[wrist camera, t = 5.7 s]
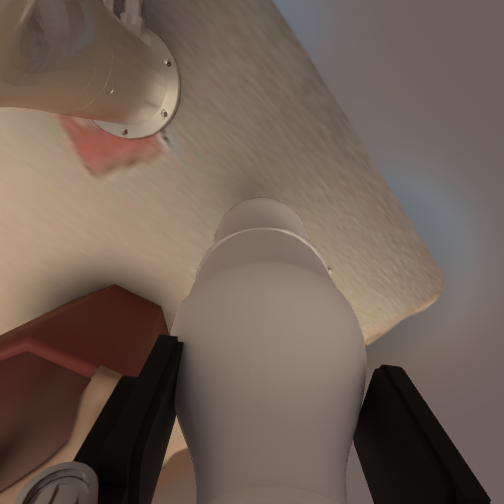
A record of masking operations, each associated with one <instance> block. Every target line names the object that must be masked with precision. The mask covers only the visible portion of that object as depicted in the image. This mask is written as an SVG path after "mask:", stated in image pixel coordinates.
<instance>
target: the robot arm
mask: <svg viewBox="0 0 504 504" xmlns="http://www.w3.org/2000/svg"><path fill="white" fill-rule="evenodd" d="M142 5H143V0H124V13H120V19H119V18H118V17H117V16H116V15H115V8H116V0H102V2H101V1H100V0H0V107H18V108H27V109H34V110H41V111H47V112H51V113H57V114H63V115H68V116H74V117H80V118H86V119H91V120H92V121H93V122H94V123H95V124H96V125H97V126H99V127H100V128H101V129H102V130H104V131H106V132H108V133H110V134H112V135H114V136H117V137H121V138H126V139H142V138H147V137H150V136H152V135H154V134H157V133H158V132H159V131H161V130H162V129H164V128H165V127H166V125H167V124H168V123H169V122H170V121H171V119H172V118H173V116H174V114H175V113H176V110H177V107H178V104H179V100H180V94H181V81H180V75H179V70H178V67H177V64H176V62H175V59H174V57H173V55H172V54H171V52H170V50H169V48H168V47H167V46H166V45H165V43H164V42H163V41H162V40H161V39H160V38H159V37H158V36H157V35H156V34H155V33H154V32H153V31H151V30H150V29H148V28H147V27H146V26H145V21H144V19H142V18H141V9H142ZM169 62H170V63H171V66H170V67H168V63H169ZM165 113H168V116H167V117H165V115H164V114H165ZM126 130H128V134H126V133H125V131H126ZM183 345H184V342H179V341H178V336H171V335H164V334H160V335H159V336H158V338H157V340H156V342H155V344H154V346H153V348H152V350H151V352H150V354H149V356H148V358H147V360H146V362H145V364H144V366H143V368H142V370H141V372H140V374H139V376H138V377H136V376H128V375H123V376H122V377H121V378H120V380H119V381H118V383H117V385H116V386H115V388H114V390H113V392H112V393H111V395H110V397H109V399H108V400H107V402H106V404H105V406H104V407H103V409H102V411H101V412H100V414H99V416H98V418H97V419H96V421H95V423H94V425H93V426H92V428H91V430H90V432H89V433H88V435H87V437H86V439H85V440H84V442H83V444H82V446H81V447H80V449H79V451H78V452H77V454H76V456H75V458H74V459H73V461H72V462H62V463H59V464H56V465H53V466H50V467H49V468H47V469H45V470H43V471H42V472H40V473H38V474H37V475H36V476H35V477H33V478H32V479H31V480H30V481H29V482H28V483H26V485H25V486H24V487H23V488H22V490H21V491H20V492H19V494H18V495H17V497H16V499H15V501H14V503H13V504H151V502H152V498H153V495H154V491H155V488H156V485H157V481H158V477H159V474H160V471H161V467H162V464H163V460H164V457H165V453H166V450H167V446H168V443H169V439H170V436H171V432H172V429H173V425H174V422H175V418H176V411H175V405H174V404H175V391H176V384H177V377H178V371H179V365H180V360H181V355H182V350H183ZM353 441H354V445H355V448H356V451H357V454H358V457H359V460H360V463H361V466H362V469H363V472H364V475H365V478H366V481H367V484H368V487H369V490H370V493H371V496H372V498H373V502H374V504H490V501H491V499H490V498H489V496H488V495H487V493H486V492H485V490H484V489H483V487H482V486H481V484H480V483H479V481H478V480H477V478H476V477H475V475H474V474H473V473H472V471H471V469H470V468H469V466H468V465H467V464H466V462H465V460H464V459H463V457H462V456H461V454H460V453H459V451H458V450H457V449H456V447H455V446H454V444H453V443H452V441H451V440H450V438H449V437H448V435H447V434H446V432H445V431H444V429H443V428H442V426H441V425H440V423H439V422H438V420H437V419H436V417H435V416H434V414H433V413H432V411H431V410H430V408H429V407H428V405H427V404H426V402H425V401H424V399H423V398H422V396H421V395H420V393H419V392H418V390H417V389H416V387H415V386H414V384H413V383H412V381H411V380H410V378H409V377H408V375H407V374H406V373H405V371H404V370H403V368H401V367H398V366H391V365H381V366H380V368H379V369H375V370H374V372H373V375H372V378H371V381H370V384H369V387H368V390H367V393H366V396H365V399H364V402H363V405H362V407H361V410H360V414H359V419H358V423H357V426H356V430H355V433H354V437H353Z"/></svg>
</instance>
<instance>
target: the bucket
mask: <svg viewBox="0 0 504 504" xmlns="http://www.w3.org/2000/svg"><path fill="white" fill-rule="evenodd" d="M160 334H164V335H169V333H168V329H167V326H166V322H165V318H164V315H163V311H162V308H161V306H159V305H157V304H155V303H153V302H151V301H148V300H146V299H144V298H142V297H140V296H138V295H136V294H134V293H132V292H130V291H128V290H126V289H124V288H122V287H120V286H118V285H116V284H115V285H112V286H110V287H107V288H104V289H102V290H99V291H97V292H94V293H91V294H89V295H86V296H83V297H81V298H78V299H76V300H73V301H71V302H69V303H67V304H65V305H62V306H60V307H58V308H56V309H54V310H52V311H50V312H48V313H46V314H44V315H42V316H40V317H38V318H35V319H33V320H31V321H29V322H27V323H25V324H23V325H21V326H19V327H17V328H15V329H13V330H11V331H8V332H6V333H4V334H2V335H0V504H13V503H14V501H15V499H16V497H17V495H18V494H19V492H20V491H21V490H22V488H23V487H24V486H25V485H26V483H28V482H29V481H30V480H31V479H32V478H33V477H35V476H36V475H37V474H38V473H40V472H42V471H43V470H45V469H47V468H49V467H50V466H53V465H56V464H59V463H62V462H72V461H73V459H74V458H75V456H76V454H77V452H78V451H79V449H80V447H81V446H82V444H83V442H84V440H85V439H86V437H87V435H88V433H89V432H90V430H91V428H92V426H93V425H94V423H95V421H96V419H97V418H98V416H99V414H100V412H101V411H102V409H103V407H104V406H105V404H106V402H107V400H108V399H109V397H110V395H111V393H112V392H113V390H114V388H115V386H116V385H117V383H118V381H119V380H120V378H121V377H122V376H123V375H128V376H136V377H138V376H139V374H140V372H141V370H142V368H143V366H144V364H145V362H146V360H147V358H148V356H149V354H150V352H151V350H152V348H153V346H154V344H155V342H156V340H157V338H158V336H159V335H160Z"/></svg>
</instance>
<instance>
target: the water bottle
mask: <svg viewBox="0 0 504 504" xmlns="http://www.w3.org/2000/svg"><path fill="white" fill-rule="evenodd" d="M170 335H171V336H178V341H179V342H184V345H183V350H182V355H181V360H180V365H179V371H178V377H177V384H176V391H175V404H174V405H175V411H176V415H177V418H178V422H179V425H180V428H181V430H182V433H183V436H184V439H185V441H186V444H187V447H188V450H189V453H190V456H191V459H192V462H193V465H194V472H195V478H196V485H197V504H347V493H346V465H347V461H348V456H349V452H350V447H351V444H352V440H353V437H354V433H355V430H356V426H357V423H358V419H359V414H360V409H361V404H362V400H363V395H364V390H365V381H366V380H365V379H366V366H367V360H366V352H365V345H364V338H363V334H362V331H361V328H360V325H359V323H358V320H357V317H356V315H355V313H354V311H353V309H352V307H351V305H350V303H349V302H348V301H347V299H346V298H345V297H344V295H343V294H342V293H341V291H339V290H338V289H337V287H336V286H335V284H334V282H333V280H332V278H331V277H330V274H329V270H328V267H327V265H326V263H325V261H324V259H323V257H322V256H321V254H320V252H319V251H318V249H317V248H316V247H315V246H314V245H313V244H312V243H311V242H310V241H309V240H308V239H307V235H306V231H305V228H304V226H303V224H302V222H301V220H300V218H299V217H298V216H297V214H296V213H295V212H294V211H293V210H292V209H291V208H289V207H288V206H287V205H285V204H284V203H282V202H280V201H278V200H274V199H271V198H264V197H260V198H254V199H250V200H245V201H242V202H240V203H238V204H237V205H235V206H234V207H233V208H231V209H230V210H229V211H228V212H227V213H226V214H225V216H224V217H223V219H222V220H221V222H220V224H219V226H218V228H217V230H216V234H215V239H214V245H213V246H212V247H211V248H210V249H209V250H208V251H207V252H206V254H205V256H204V257H203V259H202V261H201V263H200V265H199V268H198V271H197V275H196V279H195V282H194V285H193V287H192V289H191V291H190V293H189V295H188V296H187V297H186V299H185V300H184V301H183V302H182V304H181V306H180V308H179V310H178V312H177V314H176V316H175V319H174V322H173V325H172V328H171V331H170Z"/></svg>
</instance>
